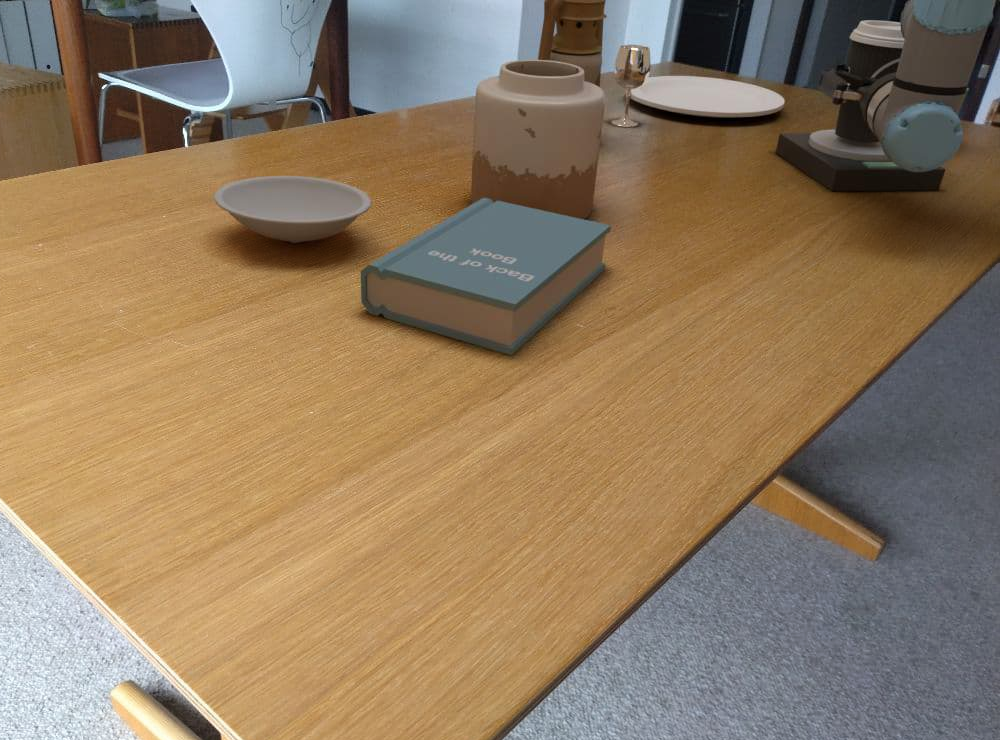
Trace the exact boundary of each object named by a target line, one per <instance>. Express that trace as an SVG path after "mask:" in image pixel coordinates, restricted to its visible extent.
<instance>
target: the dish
mask: <svg viewBox="0 0 1000 740" xmlns="http://www.w3.org/2000/svg"><path fill="white" fill-rule="evenodd" d="M213 197H214V202H215V204H216V205H217V206H218V207H219V208H220V209H221V210H223V211H225V212H227V213H228V214H229V215H230V216H232V218H234V219H235V220H236V222H238V223H239V224H241V225H242V226H244V227H245V228H247V229H249V230H250V231H252V232H254V233H256V234H258V235H260V236H263V237H266V238H269V239H274V240H279V241H286V242H289V243H293V244H298V243H302V242H310V241H319V240H322V239H327V238H330V237H333V236H335V235H336V234H338V233H341V232H342V231H344V230H345V229H346V228H348V227H349V226H350V225H351V224H352V223H354V221H356V220H357V218H358V217H360V216H362V215H363V214H365V213H366V212H368V211H369V209H370V208H371V205H372V201H371V198H370V196H369V195H368V194H367V193H366V192H365V191H363V190H361V189H360V188H357V187H356V186H353V185H350V184H347V183H344V182H340V181H337V180H333V179H332V180H331V179H326V178H320V177H312V176H302V175H301V176H299V175H269V176H268V175H267V176H258V177H250V178H245V179H243V178H242V179H239V180H236V181H232V182H229V183H227V184H225V185H223V186H221V187H220V188H218V189H217V190H216V191H215V192H214V196H213Z"/></svg>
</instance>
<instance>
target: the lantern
mask: <svg viewBox="0 0 1000 740" xmlns="http://www.w3.org/2000/svg"><path fill="white" fill-rule="evenodd" d="M606 1H607V0H544V1H543V13H544V14H543V22H542V28H541V34H540V35H541V36H540V42H539V49H538V55H537V60H549V61H558V62H564V63H569V64H573V65H576V66H579V67H581V68H582V69H583V70H584V73H585V76H584V81H586V82H589V83H592V84H594V85H596V86H598V87H600V88H601V77H602V75H601V73H602V65H603V56H602V54H603V52H602V51H603V40H604V39H603V36H604V19H606V18H607V17H608V15H607V14H606V13H605V6H606ZM555 27H556V28H555ZM555 29H556V33H555Z"/></svg>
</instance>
